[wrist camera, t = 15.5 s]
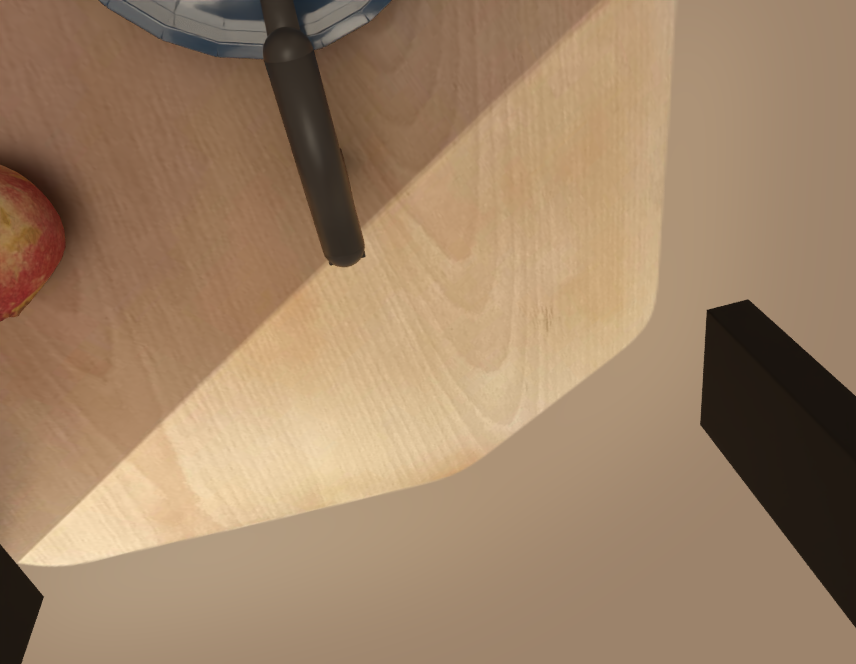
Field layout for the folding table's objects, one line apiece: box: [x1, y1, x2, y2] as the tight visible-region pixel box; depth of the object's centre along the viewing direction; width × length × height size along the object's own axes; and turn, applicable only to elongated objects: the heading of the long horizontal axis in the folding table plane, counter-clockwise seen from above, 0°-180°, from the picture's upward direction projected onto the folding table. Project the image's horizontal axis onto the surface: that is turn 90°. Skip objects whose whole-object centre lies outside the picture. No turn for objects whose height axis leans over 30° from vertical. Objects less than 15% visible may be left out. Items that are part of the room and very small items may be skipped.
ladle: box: [260, 0, 366, 267], centre depth 28 cm, size 19×6×10 cm, turn 11°
